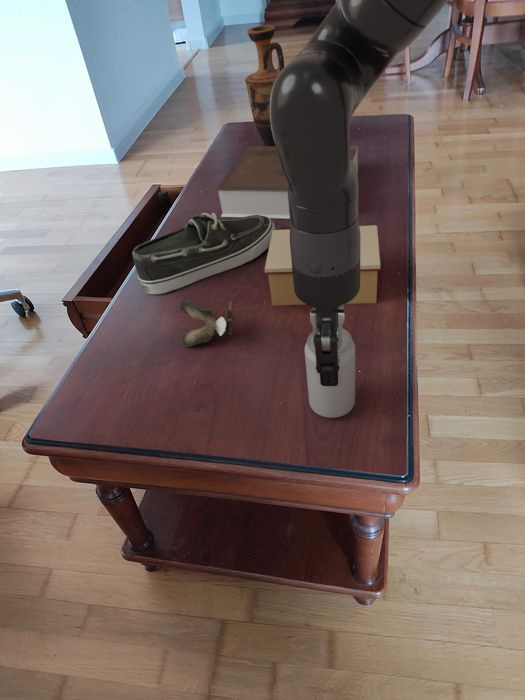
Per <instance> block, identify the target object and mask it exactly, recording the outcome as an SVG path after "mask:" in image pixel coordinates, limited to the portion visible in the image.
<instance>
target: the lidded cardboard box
mask: <svg viewBox="0 0 525 700" xmlns="http://www.w3.org/2000/svg"><path fill="white" fill-rule="evenodd" d="M359 227H360V237H361V245H360V289H359V292H358V294H357V295H356V296H355V297H354V298H353V299H352V300H351V301H349V302H348V303H346V304H345V305H355V304H356V305H359V304H361V305H363V304H377V298H378V297H377V296H378V295H377V293H378V272H380V271H381V270H382V269H381V256H380V255H381V254H380V245H379V243H380V242H379V231H378V225H377V224H376V225H375V224H374V225H359ZM264 275H268V284H269V290H270V297H271V305H272V306H308V305H307V304H305V303H304V302H302V301H301V300H300V299H299V298H298V297H297V296H296V294H295V291H294V283H293V272H292V262H291V251H290V228H289V229H276V230H273V232H272V236H271V241H270V246H269V247H268V251H267V256H266V260H265V265H264Z"/></svg>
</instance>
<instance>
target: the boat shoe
mask: <svg viewBox="0 0 525 700" xmlns="http://www.w3.org/2000/svg"><path fill="white" fill-rule="evenodd" d="M273 230H277V229H276V225H275V222H274V220H272V218H269V217H266V216H260V215H251V216H247V217H233V218H223V219H222V218H221V219H219V218H218V216H217V214H216V212H211V214H210V213H208V212H201V213H200V214H195V215H193V216H192V217H191V218H190V219H189V220H188V221H187V223H186V225H185V226H183V227H181V228H179V229H177V230H174V231H171V232H168V233H166V234H163V235H161V236H158V237H155V238H153V239H150V240H147V241H145V242H143V243H141V244H139V245H137V246H135V247H134V248H133V250H132V258H133V263H134V268H135V270H136V273H137V278H138V281H139V284H140V286H141V288H142V289H143V291H144V292H145V293H146V294H149V295H161V294H166V293H169V292H172V291H175V290H178V289H181V288H183V287H186V286H188V285H191V284H193V283H195V282H198V281H200V280H202V279H206V278H209V277H211V276H214V275H217V274H220V273H223V272H226V271H229V270H232V269H235V268H237V267H239V266H242V265H244V264H246V263H249V262H251V261H253V260H255V259H256V258H258V257H259V256H261V255H262V253H264V252H265V251H266V250H267V249H269V246H270V241H271V236H272V232H273Z"/></svg>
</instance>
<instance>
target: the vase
mask: <svg viewBox="0 0 525 700" xmlns="http://www.w3.org/2000/svg"><path fill="white" fill-rule="evenodd" d="M275 32H276V26H275V25H271V24H265V25H264V24H263V25H257V26H253V27H250V28H249V29H247V31H246V33H247V35H248V38H249V39H250V41H251V42H253V43H254V45H255V48H256V52H257V62H258V66H257V70H256V71H255V72H253V73H251V74H249V75H248V76H246V77H245V81H244V82H245V85H246V90H247V94H248V100H249V105H250V109H251V115H252V118H253V119H252V120H253V122H254V125H255V129H256V131H257V133H258V134H259V137H260V138H261V140H262V142H263V144H264V146H275V143H274V139H273V135H272V130H271V123H270V97H271V91H272V87H273V84H274V82H275V80H276V78H277V76H278V74H279V73H280V72H281V70H282V69H283V68H284V67H285V58H284V52H283V48H282V46H281V45H280V43H279V42H272V39H273V37H274V35H275ZM274 50H275V51H276V56H277V61H278V62H277V68H275V66H274V63H273V51H274Z"/></svg>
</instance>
